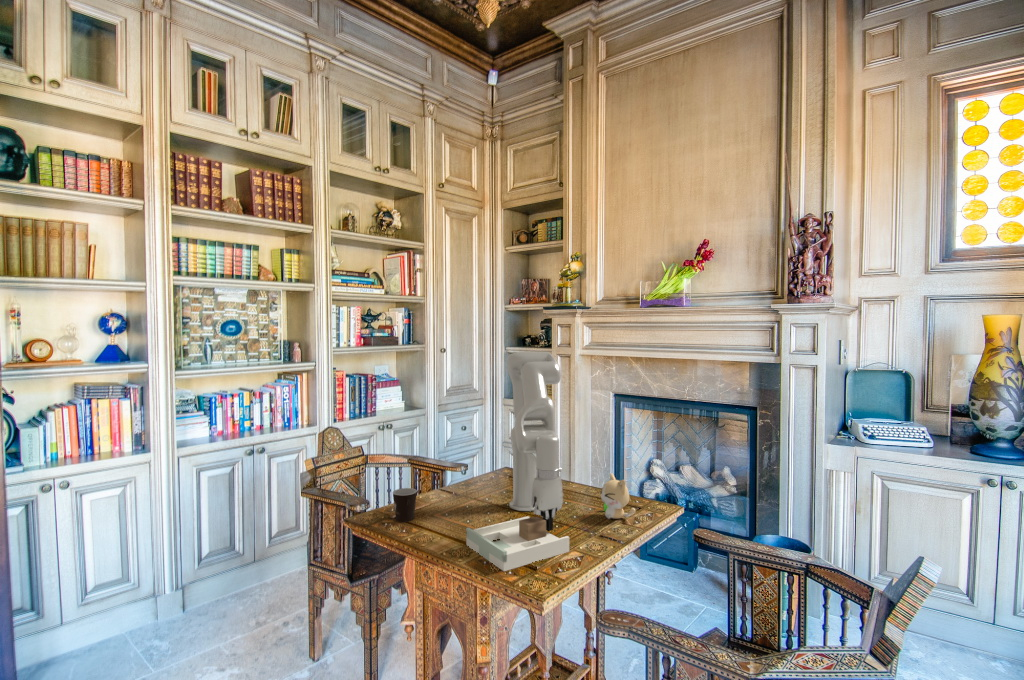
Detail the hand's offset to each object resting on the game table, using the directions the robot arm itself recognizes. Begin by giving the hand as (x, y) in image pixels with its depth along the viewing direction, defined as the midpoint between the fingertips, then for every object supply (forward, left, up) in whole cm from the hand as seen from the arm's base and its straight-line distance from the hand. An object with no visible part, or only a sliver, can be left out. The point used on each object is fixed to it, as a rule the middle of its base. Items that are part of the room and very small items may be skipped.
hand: (547, 529), depth 171 cm
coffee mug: (+32, -43, -4) cm, 54 cm away
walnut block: (+6, 0, -1) cm, 6 cm away
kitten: (-33, -3, -4) cm, 33 cm away
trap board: (+12, 0, -3) cm, 13 cm away
